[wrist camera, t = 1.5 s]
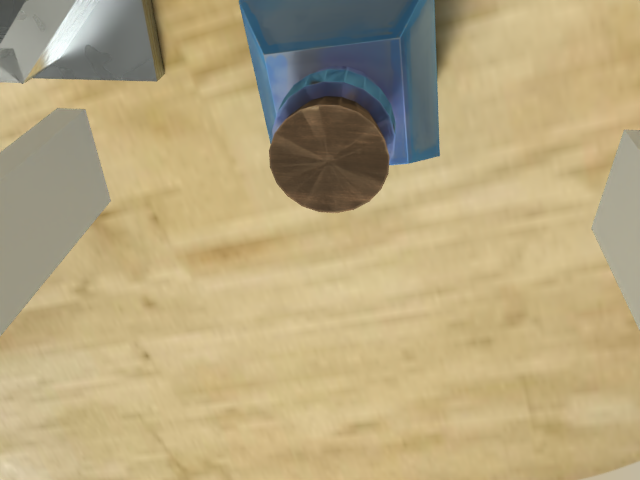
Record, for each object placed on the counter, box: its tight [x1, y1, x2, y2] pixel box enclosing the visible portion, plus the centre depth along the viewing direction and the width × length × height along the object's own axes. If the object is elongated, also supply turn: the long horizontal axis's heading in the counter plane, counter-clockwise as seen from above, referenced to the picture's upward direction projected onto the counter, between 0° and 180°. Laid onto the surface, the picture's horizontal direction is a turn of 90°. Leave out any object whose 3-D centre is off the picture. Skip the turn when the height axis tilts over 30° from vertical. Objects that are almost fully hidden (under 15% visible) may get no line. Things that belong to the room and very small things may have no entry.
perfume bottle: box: [239, 0, 440, 213], centre depth 19 cm, size 6×6×12 cm
